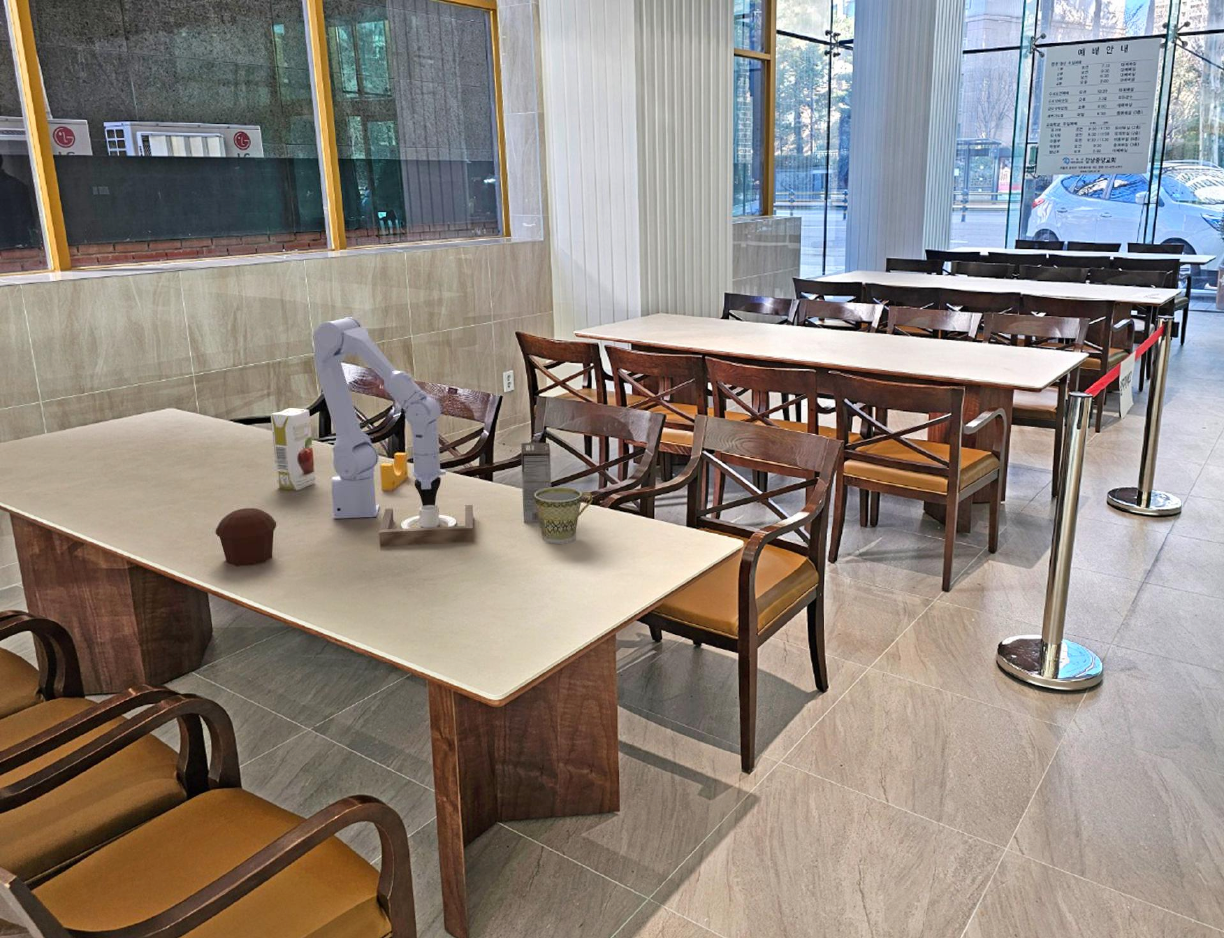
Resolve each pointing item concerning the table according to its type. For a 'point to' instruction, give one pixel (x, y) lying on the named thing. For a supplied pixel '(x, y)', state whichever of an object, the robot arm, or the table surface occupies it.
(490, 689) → the table surface
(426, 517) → the candle holder
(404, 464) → the yellow notched block
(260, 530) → the muffin
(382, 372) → the robot arm
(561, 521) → the ceramic cup
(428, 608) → the table surface
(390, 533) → the walnut cradle
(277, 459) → the juice carton
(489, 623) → the table surface
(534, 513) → the coffee box
